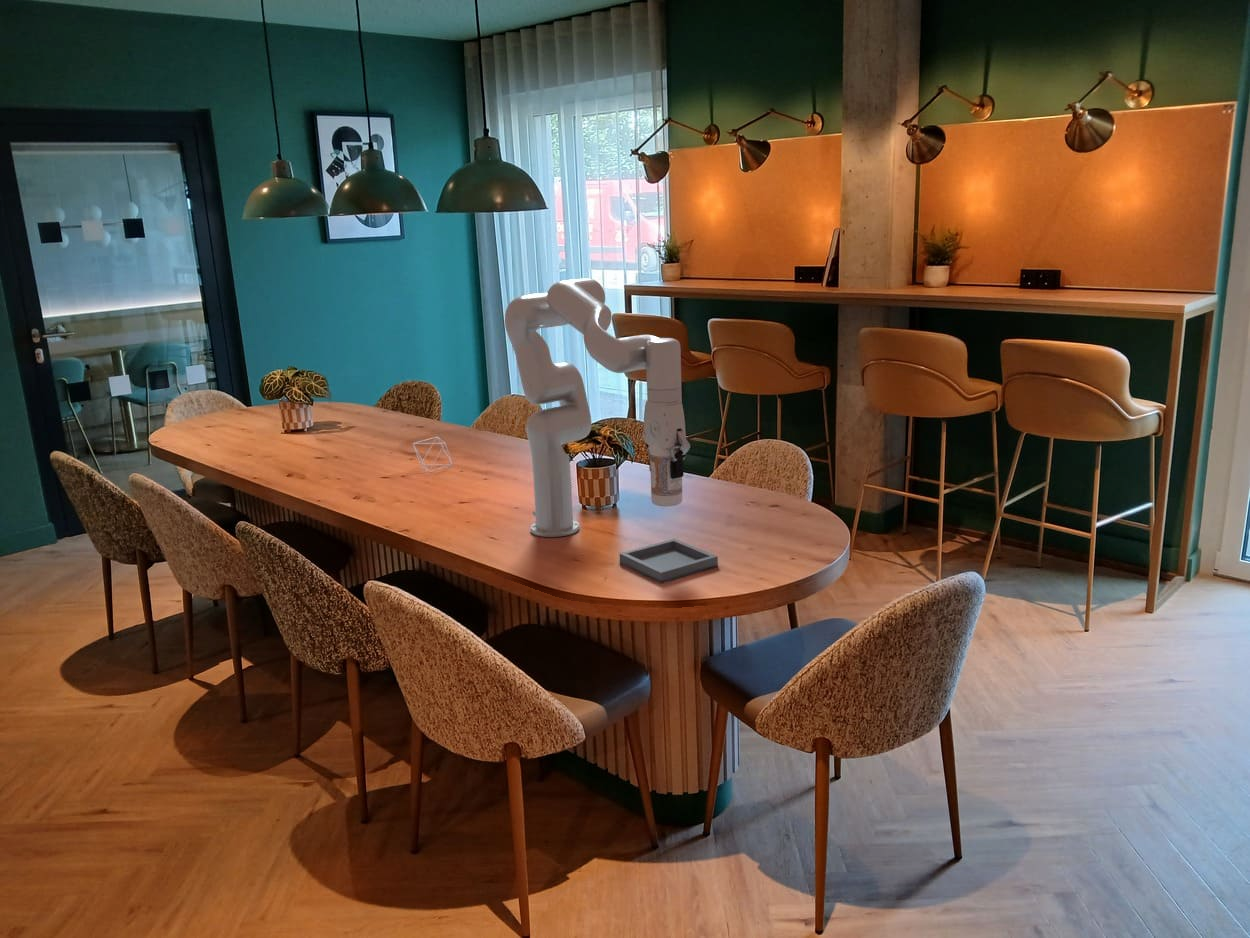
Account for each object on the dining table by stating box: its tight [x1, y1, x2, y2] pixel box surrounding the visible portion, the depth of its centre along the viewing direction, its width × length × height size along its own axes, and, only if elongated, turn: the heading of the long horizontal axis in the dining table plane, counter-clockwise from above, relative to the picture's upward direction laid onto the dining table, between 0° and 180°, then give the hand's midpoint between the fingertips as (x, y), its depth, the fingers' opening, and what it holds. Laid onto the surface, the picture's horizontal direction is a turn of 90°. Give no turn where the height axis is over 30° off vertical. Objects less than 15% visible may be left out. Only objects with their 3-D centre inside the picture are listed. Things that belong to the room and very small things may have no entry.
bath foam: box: [649, 443, 683, 507], centre depth 212 cm, size 7×7×20 cm
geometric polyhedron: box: [412, 436, 453, 473], centre depth 312 cm, size 12×11×9 cm
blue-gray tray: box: [618, 538, 719, 584], centre depth 218 cm, size 16×16×2 cm
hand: (666, 473), depth 213 cm, fingers closed on bath foam, 7 cm apart
